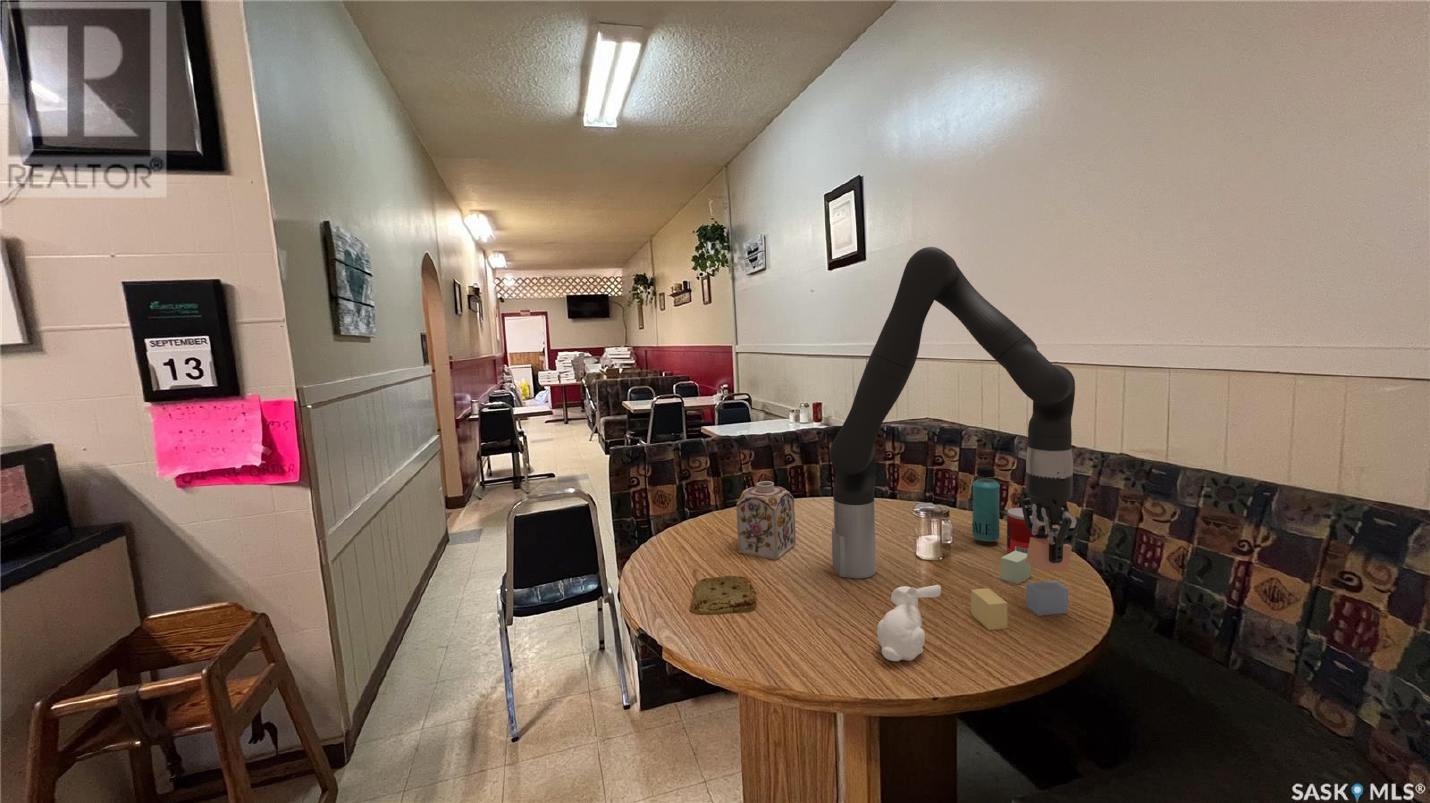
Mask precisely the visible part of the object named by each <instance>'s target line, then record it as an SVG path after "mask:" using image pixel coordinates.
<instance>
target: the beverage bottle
mask: <svg viewBox="0 0 1430 803" xmlns="http://www.w3.org/2000/svg"><path fill="white" fill-rule="evenodd" d="M976 475H977V477H982V478H977V479H976V480H974V481H973V483H972V498H971V499H972V503H971V504H972V514H971V516H972V521H971V522H972V524H971V525H972V526H971V527H972V529H971V532H972V536H973V538H975V539H976V540H979V541H982V542H996V541H999V539H1000V526H1001V525H1000V487H1001V485H1000V484H999V482H997V481H996V479H993V478H994V477H996V470H995V468H994V467H992V466H978V467H977V473H976ZM991 478H992V479H991Z"/></svg>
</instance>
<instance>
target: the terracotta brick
mask: <svg viewBox="0 0 1430 803" xmlns="http://www.w3.org/2000/svg"><path fill="white" fill-rule="evenodd" d="M1049 543H1050V542H1049V538H1048V539H1043V538H1033V537H1030V542H1029V548H1028V553H1027V559H1026V562H1027V563H1029V564H1030V565H1031V567H1034V568H1035V569H1036V570H1041V571H1043V570H1044V571H1056V572H1067V573H1068V571H1069V565H1070V561H1071V554H1072V550H1073V546H1072V545H1071V544H1064V545H1063V560H1062V562H1061V563H1051V562H1050V561H1049Z"/></svg>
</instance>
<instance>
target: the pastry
mask: <svg viewBox="0 0 1430 803" xmlns="http://www.w3.org/2000/svg"><path fill="white" fill-rule="evenodd" d="M692 589H693V590H692V591H693V592H692V598H691V602H690V606H689V609H690V610H689V611H690V612H691V613H693V614H695V615H702V616H703V615H710V616H711V615H712V616H713V615H715V616H716V615H723V614H733V613H750V612H752V611H755V609H756V608H757V598H758V597H757V591H756V590H755V587H754V585H753V584H752V581H751V579H750V578H749V577H747V576H740V575H722V576H715V577H705V578H701V579H699V580H698V581H697V582H696V583H695V584H694V586H693V588H692Z"/></svg>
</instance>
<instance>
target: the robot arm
mask: <svg viewBox="0 0 1430 803" xmlns="http://www.w3.org/2000/svg"><path fill="white" fill-rule="evenodd" d="M934 302H937V303H938V304H940V305H942V306H943V307H944V308H945V309H947V310H948V311H949V312H950V313H951V314H952V315H954V316H955V317H956V318H957V319H958V320H959V321H960V323H961V324H962V325H963V326H964V327H965V328H966V330H967V331H968V332H969V335H971V336H972V337H973V338H974V340H975V341H976V342H977V343H978V344H979V345H980V346H981V347H982V348H983V350H985V352H987V354H989V355H990V356H991V357H992V358H993V359H994V360H995V361H996V362H997V363H998V364H999V365H1000V366H1002V367H1003V368H1004V369H1005V371H1007V373H1008V375H1009V376H1010V378H1011V379H1012V380H1013V382H1014V383H1015V384H1016V385H1017V387H1018V388H1019V389H1020V391H1021V392H1023V394H1025V396H1027V398H1028V399H1031V400H1032V415H1031V417H1030V419H1029V420H1028V425H1027V452H1026V460H1025V462H1026V463H1025V492H1026V493H1027V495H1029V496H1030V498H1021V499H1020V506H1021V508H1022V511H1023V515H1024V520H1025V524H1026V527H1027V529H1031V530H1032V534H1033V535H1034V538H1043V539H1049V542H1050V543H1049V561H1050V562H1051V563H1061V562H1062V560H1063V545H1064V544H1068V545H1071V544H1073V543H1074V540H1075V538H1076V536H1077V532H1078V529H1079V526H1080V525H1081V519H1080V517H1079V516H1073V515H1072V514H1070V509H1069V506H1068V500H1070V498H1072V497H1073V483H1074V482H1073V481H1074V480H1073V478H1074V477H1073V476H1074V475H1073V474H1074V473H1073V472H1074V468H1073V467H1074V466H1073V465H1074V460H1073V451H1072V446H1073V445H1072V439H1073V438H1072V433H1073V432H1072V429H1073V428H1072V416H1073V411H1074V403H1075V396H1076V381H1075V376H1073V373H1072V372H1071V371H1070V370H1069V369H1068V368H1067V367H1065V366H1063V365H1058V364H1052V363H1051V362H1050V361H1049V360H1048V359H1047V358H1046V357H1045V356H1044V355H1043V354H1042V353H1041V352H1040V351H1039V350H1038V347H1037V346H1038V345H1037V344H1036V343H1035V341H1033V339H1032V338H1030V337H1029V336H1028V335H1027V334H1026V333H1025V332H1024V330H1022V329H1021V328H1020V327H1019V326H1018V325H1017V324H1015V323H1014V322H1013V321H1012V320H1011V319H1010V318H1008V316H1007V315H1005V314H1004V313H1003V312H1001V311H1000V310H999V309H998V308H996V307H995V306H994V305H993V304H991V302H989V301H988V300H987V299H986V298H984V297H983V296H982V294H981V293H980V292H978V290H977V289H976V288H975V286H973V285H972V284H971V282H970V281H969V279H968V278H966V275H965V274H964V273H963V272H962V271H961V269H960V268H959V265H958V264H957V263H956V260H955V259H954V258H953V257H952V256H951V255H949V254H948V253H947V252H946V251H944V250H942V249H941V248H939V247H935V246H927V247H923V248H920V249H919V250H917V251H916V252H915V253H913V254H912V256H910V257H909V259H908V261H907V263H906V265H905V267H904V269H903V272H902V275H901V280H900V282H899V285H898V289H897V292H896V295H895V299H894V302H893V304H892V307H891V309H890V312H889V314H888V316H887V318H886V321H885V323H884V325H883V326H882V329H881V331H880V333H879V336H878V338H877V341H876V342H875V345H874V347H873V349H872V351H871V353H870V356H869V358H868V360H867V363H866V365H865V367H864V370H863V373H862V375H861V378H860V381H859V383H858V386H857V389H856V392H855V395H854V399H853V401H852V405H851V408H850V410H849V412H848V414H847V416H846V418H845V420H844V422H843V424H842V426H841V428H840V429H839V431H838V432H837V435H836V436H835V438H834V440H833V441H832V443H831V445H830V448H829V460H830V463H831V464H832V467H833V468H834V469H835V479H834V485H833V489H832V493H833V494H832V496H833V497H832V498H833V499H832V500H833V527H832V528H831V551H832V552H831V553H832V554H831V556H832V568H833V569H834V570H835V572H836V573H837V575H838V576H839V577H840V578H851V579H865V578H870V577H873V576H874V575H875V574H876V572H877V571H876V570H877V569H876V568H877V561H876V523H875V522H876V520H875V519H876V515H875V509H876V508H875V491H876V490H875V489H876V483H877V482H876V480H877V479H876V465H877V464H876V462H877V461H876V457H877V456H876V446H875V445H876V444H875V443H876V440H877V437H878V435H879V431H880V429H881V427H882V425H883V422H884V420H885V419H886V418H887V416H888V414H889V413H890V411H891V410H892V408H893V407H894V405H895V403H896V402H897V400H898V398H900V395H901V393H902V392H903V390H904V388H905V386H906V384H907V382H908V379H909V378H910V375H911V373H912V371H913V370H914V367H915V364H916V361H917V358H918V355H919V351H920V350H919V349H920V345H921V339H922V334H923V328H924V324H925V322H926V318H927V316H928V313H929V311H930V309H931V307H932V306H933V304H934ZM1030 516H1032V518H1031V520H1030ZM1031 522H1032V523H1031ZM1041 525H1042V527H1041ZM1057 525H1058V526H1057ZM1056 532H1057V536H1056Z"/></svg>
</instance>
